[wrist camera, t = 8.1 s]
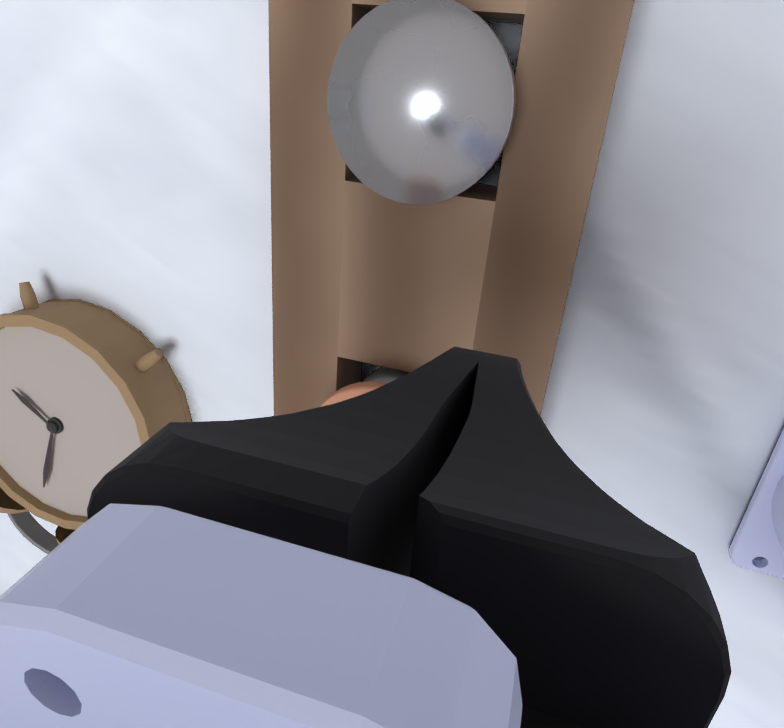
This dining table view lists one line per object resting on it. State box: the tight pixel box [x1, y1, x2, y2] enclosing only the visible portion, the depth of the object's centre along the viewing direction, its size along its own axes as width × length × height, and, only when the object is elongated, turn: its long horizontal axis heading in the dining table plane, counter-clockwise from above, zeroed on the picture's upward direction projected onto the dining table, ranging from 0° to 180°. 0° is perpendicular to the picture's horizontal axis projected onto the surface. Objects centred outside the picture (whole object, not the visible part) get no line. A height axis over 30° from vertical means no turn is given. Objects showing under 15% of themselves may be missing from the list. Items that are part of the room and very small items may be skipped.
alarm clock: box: [0, 282, 192, 554], centre depth 30 cm, size 11×5×15 cm
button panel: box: [269, 0, 634, 416], centre depth 20 cm, size 10×22×3 cm, turn 176°
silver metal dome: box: [327, 0, 516, 204], centre depth 17 cm, size 5×5×4 cm
